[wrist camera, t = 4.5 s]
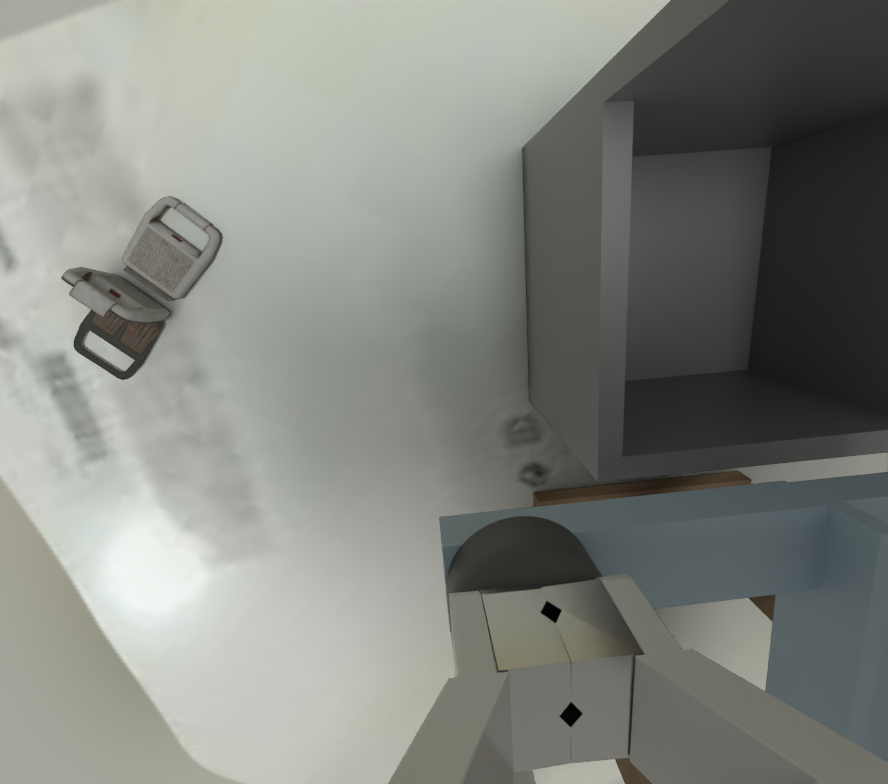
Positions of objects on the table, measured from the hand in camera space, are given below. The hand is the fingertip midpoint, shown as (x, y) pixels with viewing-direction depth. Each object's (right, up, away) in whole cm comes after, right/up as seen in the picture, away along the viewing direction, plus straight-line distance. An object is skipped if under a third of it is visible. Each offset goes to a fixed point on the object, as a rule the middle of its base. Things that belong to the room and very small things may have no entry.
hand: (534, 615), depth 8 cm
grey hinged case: (-15, +8, +14) cm, 22 cm away
